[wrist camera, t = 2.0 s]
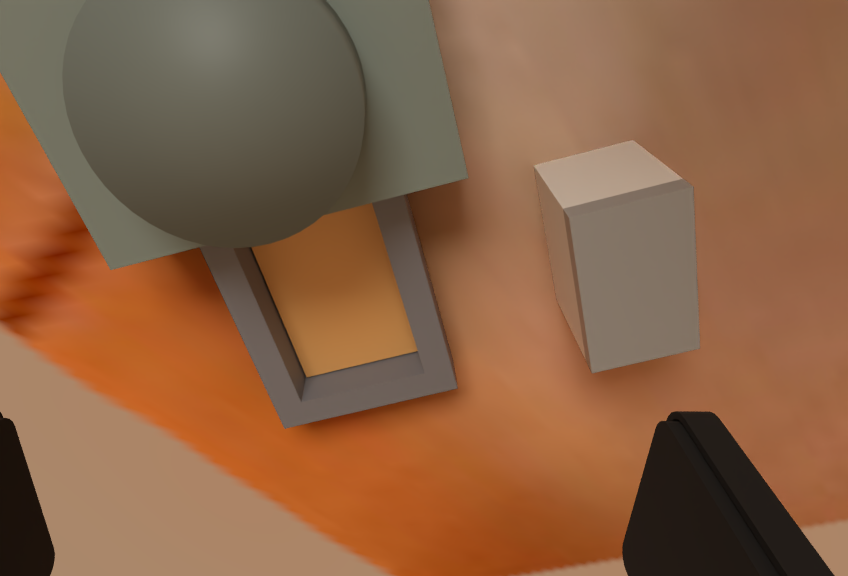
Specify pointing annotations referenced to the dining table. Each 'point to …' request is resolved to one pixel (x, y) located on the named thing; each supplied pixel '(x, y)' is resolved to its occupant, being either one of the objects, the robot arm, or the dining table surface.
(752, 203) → the dining table surface
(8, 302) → the dining table surface
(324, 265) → the domed grey panel
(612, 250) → the grey bevelled box
